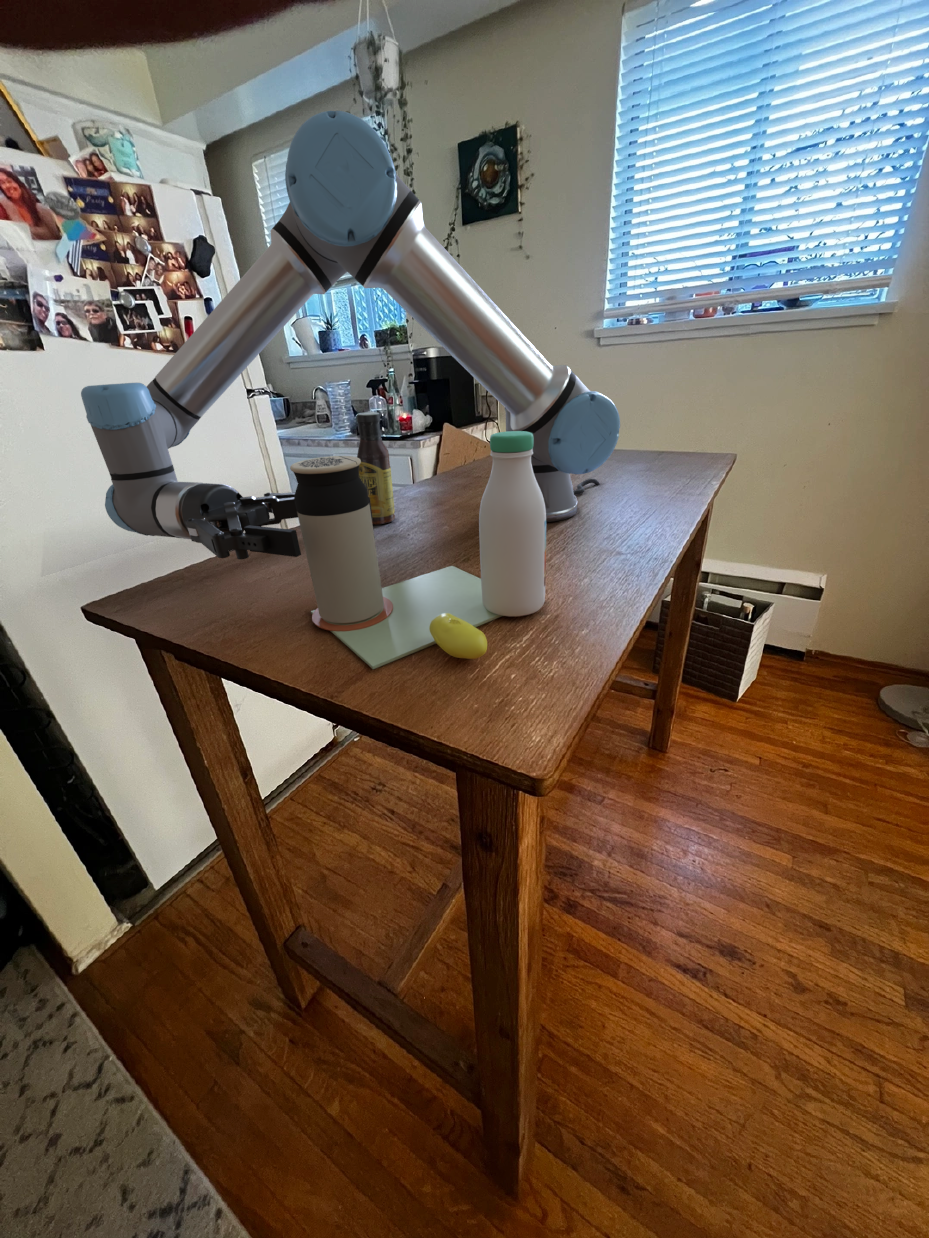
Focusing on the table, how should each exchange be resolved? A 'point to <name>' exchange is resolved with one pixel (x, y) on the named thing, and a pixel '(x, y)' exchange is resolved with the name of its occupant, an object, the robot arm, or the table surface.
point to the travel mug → (338, 538)
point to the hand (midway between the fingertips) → (336, 524)
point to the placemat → (411, 615)
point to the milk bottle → (512, 529)
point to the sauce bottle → (375, 468)
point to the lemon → (458, 637)
